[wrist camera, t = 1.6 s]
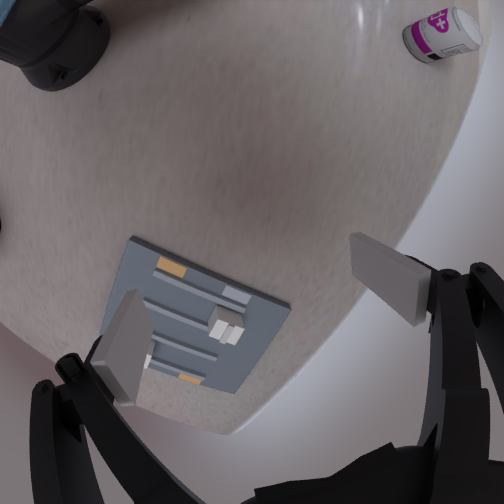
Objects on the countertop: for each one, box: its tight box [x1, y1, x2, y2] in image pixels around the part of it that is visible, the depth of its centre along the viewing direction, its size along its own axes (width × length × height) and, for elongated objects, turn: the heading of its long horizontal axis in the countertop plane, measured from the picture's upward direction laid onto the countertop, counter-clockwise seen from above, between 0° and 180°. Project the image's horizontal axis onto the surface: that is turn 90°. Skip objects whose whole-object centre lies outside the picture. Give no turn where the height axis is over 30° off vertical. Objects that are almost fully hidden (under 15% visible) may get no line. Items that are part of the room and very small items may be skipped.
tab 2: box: [208, 305, 245, 345], centre depth 37 cm, size 4×3×5 cm
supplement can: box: [403, 7, 483, 63], centre depth 25 cm, size 8×8×15 cm
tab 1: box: [144, 339, 156, 369], centre depth 36 cm, size 4×3×5 cm
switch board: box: [99, 236, 291, 394], centre depth 40 cm, size 26×20×3 cm
